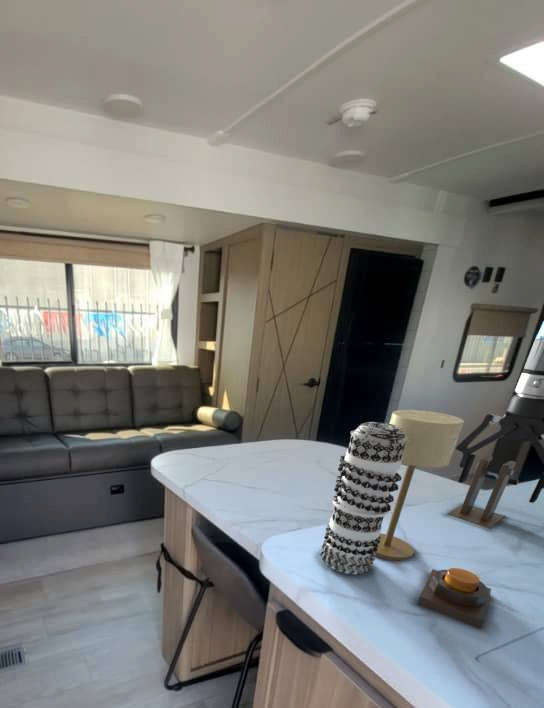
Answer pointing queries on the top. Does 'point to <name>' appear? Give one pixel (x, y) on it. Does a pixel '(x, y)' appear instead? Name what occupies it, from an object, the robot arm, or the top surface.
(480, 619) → the button block
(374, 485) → the decorative candle
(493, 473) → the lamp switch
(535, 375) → the robot arm
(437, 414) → the lamp
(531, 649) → the top surface
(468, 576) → the button
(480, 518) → the stand
